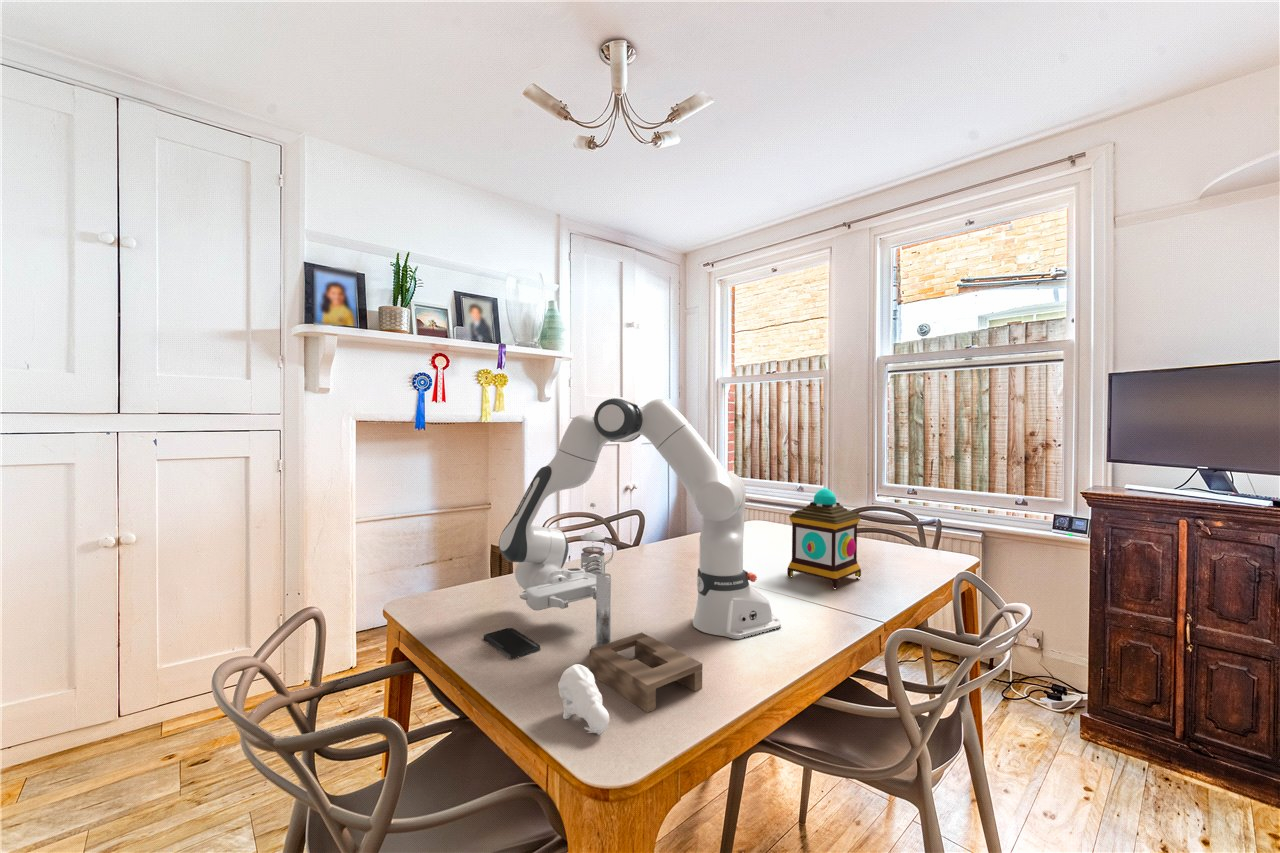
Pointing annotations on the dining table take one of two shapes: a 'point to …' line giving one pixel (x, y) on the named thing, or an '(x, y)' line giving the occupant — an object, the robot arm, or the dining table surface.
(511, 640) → the phone
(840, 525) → the decorative lantern
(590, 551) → the french press
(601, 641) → the steel peg
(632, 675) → the keyhole board
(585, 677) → the white lumpy figurine
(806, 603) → the dining table surface
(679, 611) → the dining table surface
